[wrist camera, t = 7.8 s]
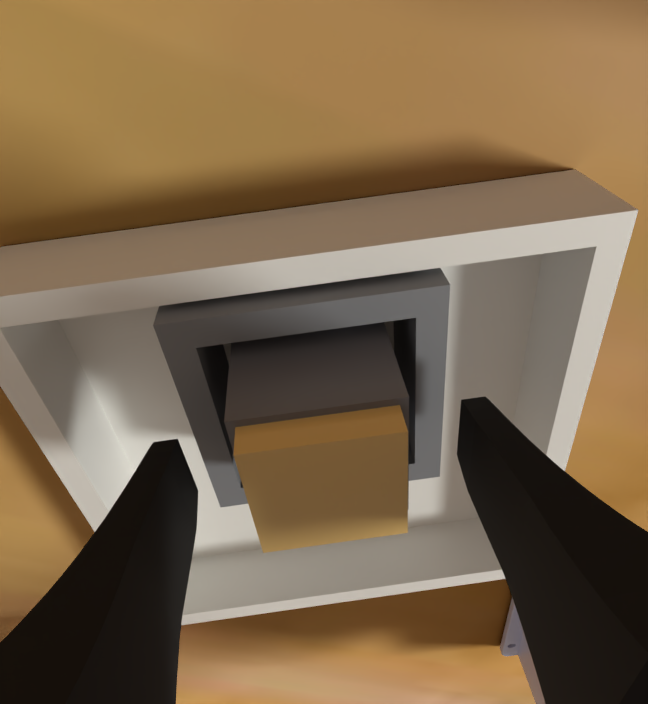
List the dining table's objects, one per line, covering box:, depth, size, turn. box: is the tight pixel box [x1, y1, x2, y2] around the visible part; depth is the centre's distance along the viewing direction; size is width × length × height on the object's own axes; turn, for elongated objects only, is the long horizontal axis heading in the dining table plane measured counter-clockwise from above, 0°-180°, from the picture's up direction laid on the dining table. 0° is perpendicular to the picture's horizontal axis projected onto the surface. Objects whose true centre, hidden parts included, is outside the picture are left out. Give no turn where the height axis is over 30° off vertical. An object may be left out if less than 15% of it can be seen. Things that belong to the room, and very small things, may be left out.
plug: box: [224, 322, 409, 553], centre depth 14 cm, size 4×4×6 cm
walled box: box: [0, 169, 638, 625], centre depth 18 cm, size 16×16×4 cm
